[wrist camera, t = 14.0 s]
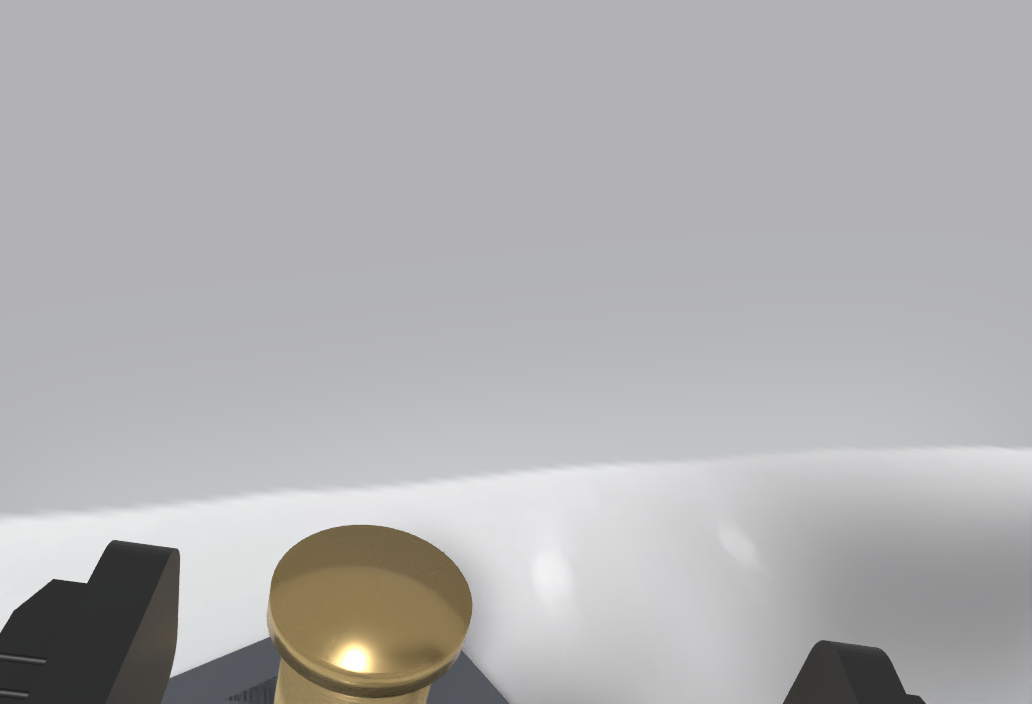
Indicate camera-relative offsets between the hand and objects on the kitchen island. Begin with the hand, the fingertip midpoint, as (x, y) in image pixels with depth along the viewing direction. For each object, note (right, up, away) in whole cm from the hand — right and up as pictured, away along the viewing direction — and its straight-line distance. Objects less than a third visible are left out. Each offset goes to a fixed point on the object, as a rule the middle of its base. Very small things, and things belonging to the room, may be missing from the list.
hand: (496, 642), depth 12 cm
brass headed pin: (-7, -14, +21) cm, 26 cm away
